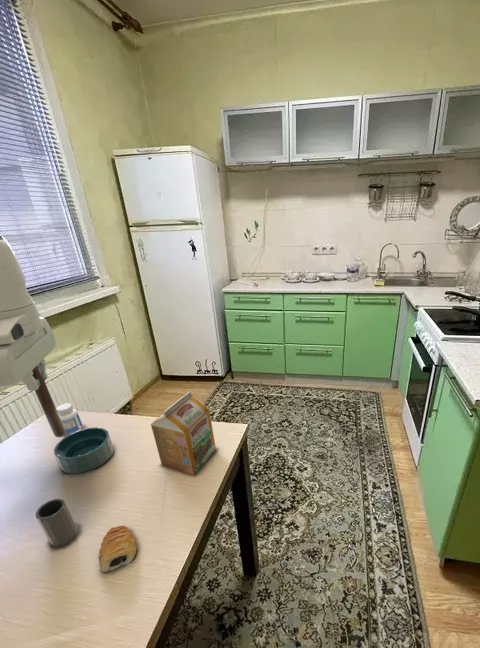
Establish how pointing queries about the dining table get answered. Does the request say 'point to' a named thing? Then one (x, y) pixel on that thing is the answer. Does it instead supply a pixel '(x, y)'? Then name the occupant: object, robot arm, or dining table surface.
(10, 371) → the robot arm
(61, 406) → the pill bottle
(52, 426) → the stick
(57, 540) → the holder
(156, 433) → the milk carton
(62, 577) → the dining table surface
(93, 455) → the bowl
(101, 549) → the pastry
